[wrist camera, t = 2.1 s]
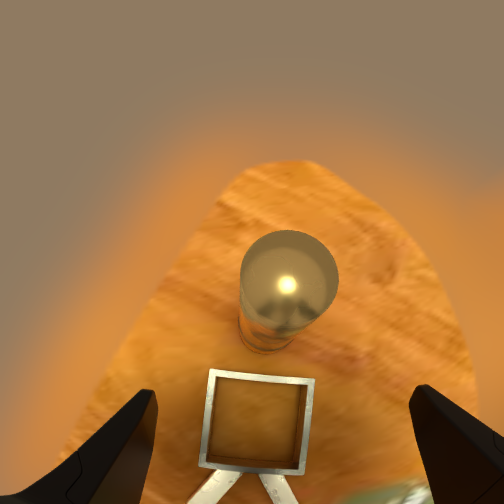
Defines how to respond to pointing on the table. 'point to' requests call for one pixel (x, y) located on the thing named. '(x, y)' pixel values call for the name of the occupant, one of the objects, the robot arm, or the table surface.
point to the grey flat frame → (232, 468)
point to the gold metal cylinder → (283, 288)
